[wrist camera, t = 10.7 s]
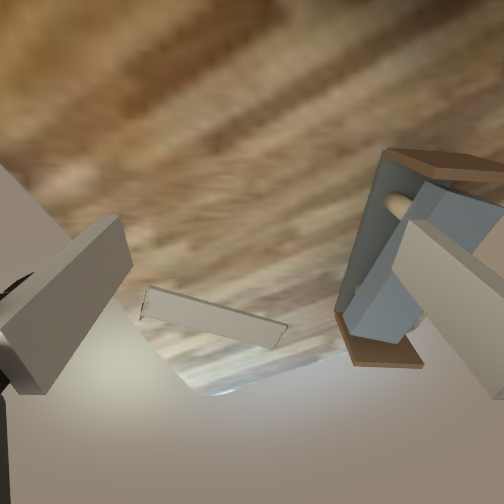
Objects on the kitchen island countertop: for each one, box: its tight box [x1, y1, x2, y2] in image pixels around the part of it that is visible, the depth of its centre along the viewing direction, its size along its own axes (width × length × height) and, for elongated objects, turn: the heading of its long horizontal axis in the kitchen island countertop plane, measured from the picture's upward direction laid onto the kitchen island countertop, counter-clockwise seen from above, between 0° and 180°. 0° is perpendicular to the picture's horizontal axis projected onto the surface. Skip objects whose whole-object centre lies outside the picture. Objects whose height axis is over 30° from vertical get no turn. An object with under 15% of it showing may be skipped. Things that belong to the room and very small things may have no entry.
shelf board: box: [343, 180, 504, 344], centre depth 41 cm, size 9×26×4 cm, turn 165°
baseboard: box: [140, 285, 287, 349], centre depth 57 cm, size 30×3×10 cm
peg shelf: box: [334, 148, 504, 369], centre depth 42 cm, size 12×33×13 cm, turn 176°
